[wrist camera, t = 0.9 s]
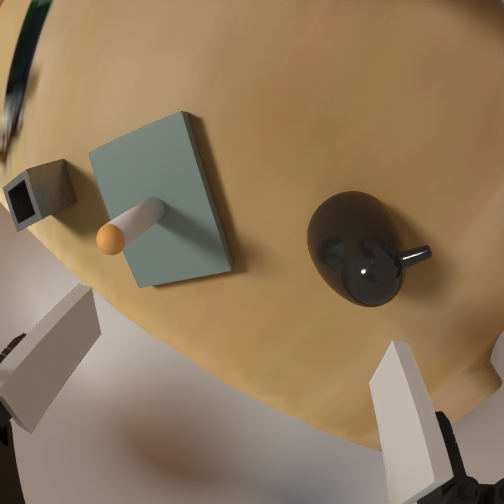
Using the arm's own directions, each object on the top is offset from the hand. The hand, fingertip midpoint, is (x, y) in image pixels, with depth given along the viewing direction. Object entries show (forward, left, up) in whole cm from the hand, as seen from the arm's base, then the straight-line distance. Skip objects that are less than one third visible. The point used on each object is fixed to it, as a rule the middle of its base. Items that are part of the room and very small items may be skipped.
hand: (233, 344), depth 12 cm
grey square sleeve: (-11, -31, -25) cm, 41 cm away
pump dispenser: (+5, +8, -25) cm, 27 cm away
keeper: (-3, -14, -25) cm, 28 cm away
